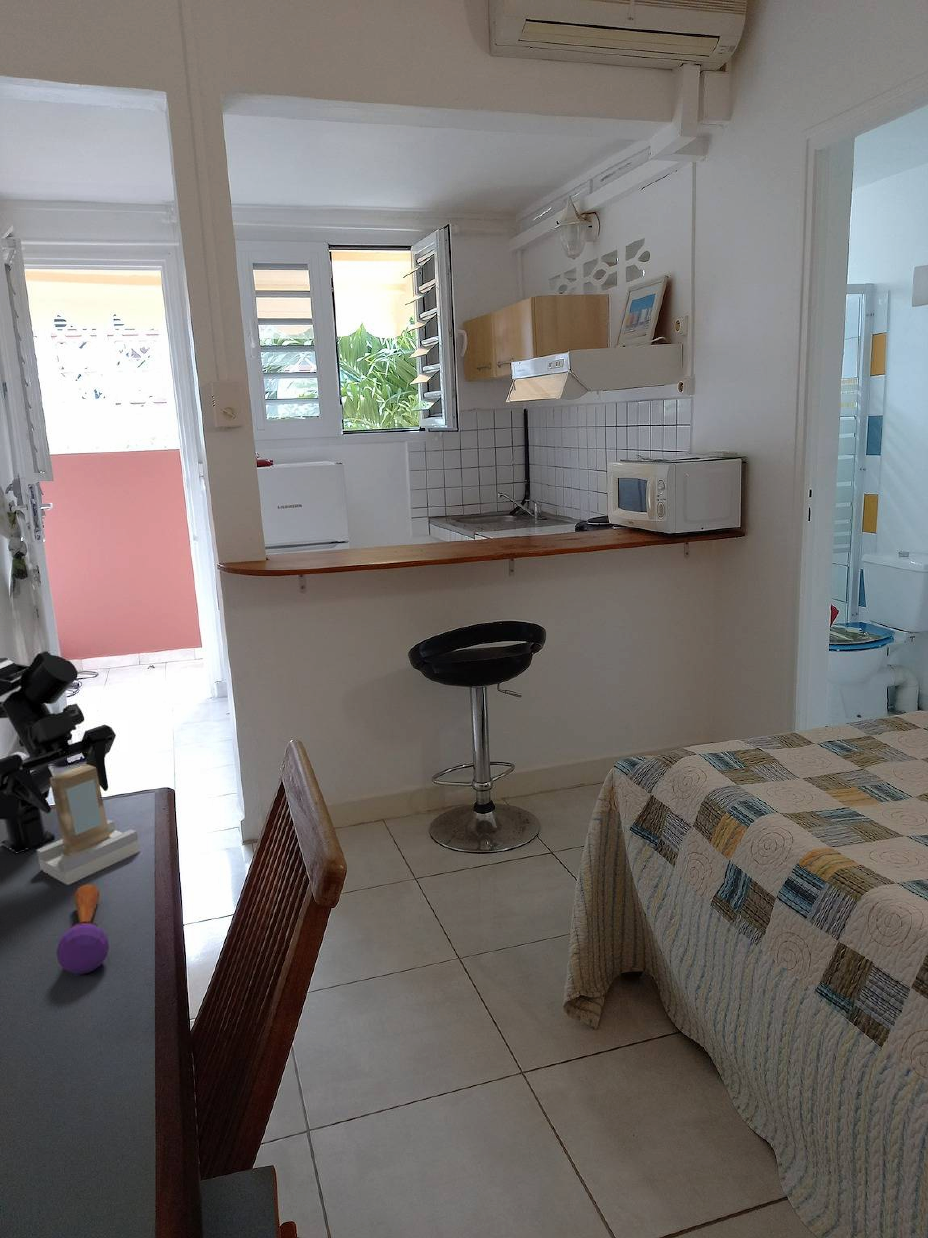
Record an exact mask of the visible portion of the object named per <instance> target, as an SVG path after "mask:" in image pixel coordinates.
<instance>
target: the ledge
mask: <svg viewBox="0 0 928 1238" xmlns="http://www.w3.org/2000/svg"><path fill="white" fill-rule="evenodd" d="M106 820H107V825H108V830H109V835H110V837H111V838H110V839H108V840H106V841H103V842H101V843H99V844H97V845H94V846H92V847H90V848H87V849H85V850H83V851H81V852H78V853H76V854H74V855H72V856H67V855H65V854H64V851H63V847H64V844H63V840H62V838H60V839H58V840H57V841H55V842H52V843H48V844H47V845H45V846H42V847H40V848H38V849H36V853H37V857H38V861H39V863H38V864H39V866H40V867H39V868H40V870H41V869H42V870H43V871H42V870H41V871H42V872H44V873H46V874H47V873H48V874H47V875H49V876H50V877H52V878H53V879H56V880H58V881H60V882H61V883H62V884H64V885H66V886H68V885H72V884H73V883H76V882H78V881H80V880H82V879H84V878H86V877H89V876H90V875H92V874H95V873H97V872H99V871H101V870H103V869H104V870H105V869H106V868H108V867H110V866H112V865H115V864H116V863H118V862H121V861H123V860H124V859H127V858H130V857H132V856H134V855H136V854H138V853H140V852H141V849H140V844H139V839H138V832H137V830H133V829H131V828H130V829H129V830H126V831H124V832H121V831H119V830H116V827H115V826H116V825H115V822H114V820H112V819H110V818H108V819H106Z"/></svg>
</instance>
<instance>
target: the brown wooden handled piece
mask: <svg viewBox="0 0 928 1238" xmlns="http://www.w3.org/2000/svg"><path fill="white" fill-rule="evenodd" d="M100 895H101V894H100V890H99V888H98V887H97V886H95V885H93V884H89V883H87V884H84V885H81V886H79V887H78V888H77V889H76V891H75V892H74V897H73V898H74V903H75V907H76V912H77V918H78V921H79V922H77V923H75V924H74V925H72V926H71V927H70V928H69V929H67V930H66V931H65V932H64V933H63V934H62V936H61V937H60V938H59V939H58V944H57V948H56V953H55V954H56V958H57V962H58V964H59V965H60V967H62V969H63V970H65V971H67V972H69V973H71V974H73V975H84V974H87V973H91V972H93V971H94V970H96V969H98V968H99V967H100V966H101V965H102V964H103V963H104V961H105V960H106V958H108V953H109V948H110V943H109V937H108V934H107V933H106V932H105V930H104V929H103V928H102V927H100V926H98V924H97V923H95V922H92V919H93V916H94V914H95V910H96V907H97V905H98V901H99V899H100Z"/></svg>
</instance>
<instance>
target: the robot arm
mask: <svg viewBox="0 0 928 1238" xmlns="http://www.w3.org/2000/svg"><path fill="white" fill-rule="evenodd" d="M31 662H32V663H30V665H24V664H19V663H15V662H14V661H12V660H11V659H10V658H7V657H0V697H2V696H4V695H5V696H6V695H7V694H9V693H10V694H9V695H8V696H7V697H6V698H5V699H4V701H0V719H8V720H9V722H10V723H11V725H12V727H13V729H14V731H15V732H16V735H17V736H18V738H19V739H18V743H19V746H20V747H21V748H22V747H24V748H25V750H26V751H27V754H25V753H24V752H21V751H15V752H12V754H9V755H8V756H6V757H3V758H1V759H0V820H3V823H4V827H5V831H6V835H7V839H5V840H3V841H1V842H0V844H4V845H5V846H7V847H8V848H11V849H12V850H14V851H15V852H20V851H22V850H25V849H26V848H30V847H32V848H34V847H33V846H35V845H37V846H39V845H38V844H40V845H42V844H44V843H46V841H47V842H48V840H49V841H51V840H53V839H54V840H55V838H56V835H55V834H54V833H52V832H50V831H48V830H46V828H45V827H46V825H45V821H44V818H43V817H44V816H43V813H46V814H50V813H51V811H52V809H51V806H50V804H49V802H48V800H47V799H48V798H49V796H50V789H51V783H50V777H53V776H54V775H53V774H52V771H51V769H50V765H51V764H55V763H58V762H61V761H63V760H67V759H70V758H73V757H75V756H77V755H80V754H82V757H83V758H84V759H87V760H86V763H85V765H86V764H88V765H90V766H93V767H96V770H97V775H98V780H99V785H100V789H102V790H103V791H104V792H107V791H108V789H109V783H108V777H107V769H106V756H107V754H109V753H110V752H111V749H112V747H113V744H114V742H115V739H116V736H117V734H116V733H115V731H114V729H113V728H112V727H111V726H110V725H107V724H102V725H99V726H97V727H96V726H95V727H94V728H91V729H88V730H85V731H84V733H83V736H82V739H81V740H79V741H76V742H74V743H69V741H70V740H72V738H73V734H72V732H73V731H75V730H77V726H78V725H81V724H82V723H84V722H85V717H84V712H83V711H82V709H81V708H80V707H79V705H78V704H77V703H73V704H70V705H67V706H65V707H64V708H63V709H62V711H61V712H58V713H55V712H50V709H49V708H48V706H47V704H48V705H52V704H55V703H56V702H57V701H59V699H60V698H61V697H62V696H63V694H64V693H65V692H66V691H67V690H68V689H69V688H70V686H71V685H72V684H73V683H74V682H75V681H76V680H77V678H78V670H77V667H76V666H75V665H74V664H73V662H71V661H70V660H67V659H66V658H63V657H61V656H60V655H55V654H54V655H53V654H51V653H50V652H49V651H47V650H43V651H41V652H39V653H37V654H36V656H34V658H33V660H32V661H31ZM18 688H19V689H18ZM17 689H18V690H17ZM16 690H17V691H16ZM42 812H43V813H42ZM35 847H36V846H35ZM8 848H7V849H8ZM30 849H31V848H30ZM25 851H26V850H25ZM15 852H14V853H15ZM20 853H21V852H20Z"/></svg>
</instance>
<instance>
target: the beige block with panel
mask: <svg viewBox="0 0 928 1238" xmlns="http://www.w3.org/2000/svg"><path fill="white" fill-rule="evenodd" d="M52 776H53V777H50V783H51V787H50V789H51V792H52V797H53V802H54V806H55V811H56V815H57V820H58V825H59V829H60V834H61V839H62V840H63V844H64V847H63V851H64V854H65V855H67V856H72V855H74V854H76V853H78V852H81V851H83V850H85V849H87V848H90V847H92V846H94V845H97V844H99V843H101V842H103V841H106V840H108V839H110V838H111V837H110V835H109V830H108V825H107V820H108V819H107V816H106V810H105V806H104V800H103V796H102V791H101V786H100V785H99V780H98V775H97V770H96V767H93V766H90V765H88V764H86V763H85V764H84V765H81V766H78V767H75V768H72V769H70V770H66V771H64V772H62V773H59V774H57V775H52Z"/></svg>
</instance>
